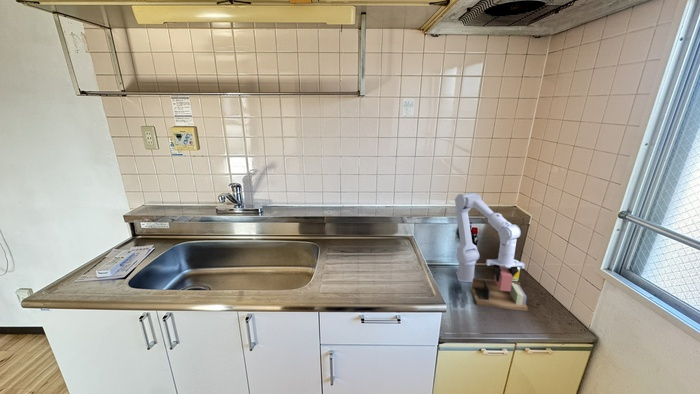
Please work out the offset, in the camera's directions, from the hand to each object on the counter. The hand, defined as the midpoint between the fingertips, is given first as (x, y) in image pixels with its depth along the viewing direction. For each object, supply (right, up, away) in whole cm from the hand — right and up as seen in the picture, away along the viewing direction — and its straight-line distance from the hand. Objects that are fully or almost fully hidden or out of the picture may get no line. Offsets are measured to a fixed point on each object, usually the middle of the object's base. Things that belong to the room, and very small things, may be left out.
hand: (502, 281), depth 123 cm
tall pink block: (0, -2, 0) cm, 2 cm away
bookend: (-7, -8, +5) cm, 11 cm away
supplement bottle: (+15, -5, +20) cm, 25 cm away
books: (+7, -8, +2) cm, 11 cm away
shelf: (0, -9, +3) cm, 10 cm away
